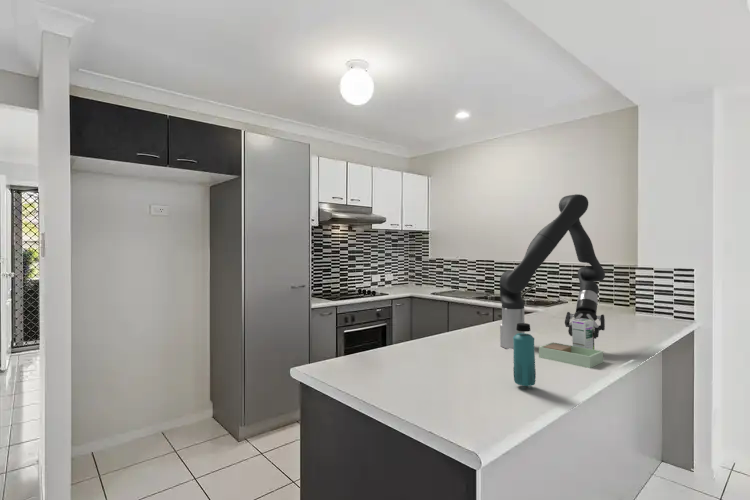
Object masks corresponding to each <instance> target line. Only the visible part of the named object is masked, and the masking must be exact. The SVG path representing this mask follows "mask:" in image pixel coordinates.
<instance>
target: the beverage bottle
mask: <svg viewBox="0 0 750 500" xmlns="http://www.w3.org/2000/svg"><path fill="white" fill-rule="evenodd" d="M516 330H517V331H523V332H525V333H518V334H516V335H515V336H514V337H513V345H514V349H513V358H512V359H513V362H512V363H513V382H514V383H515V384H516V385H518V386H523V387H531V386H534V385H536V381H537V380H536V379H537V377H536V375H537V374H536V354H535V337H534V336H533V335H531V334H530V333H526V332H531V324H529V323H527V322H526V323H518V324H517V328H516Z"/></svg>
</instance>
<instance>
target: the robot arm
mask: <svg viewBox="0 0 750 500" xmlns="http://www.w3.org/2000/svg"><path fill="white" fill-rule="evenodd" d="M558 209H559V212H560V213H559V214H558V216H556V217H555V219H553V220H552V221H551V222H550V223H548V224H546V226H544V227H543V228H542V229H541V230H539V231H538V233H537V234H536V235H535V236H534V237H533V238H532V240H531V241H530V244H528V247H527V249H526V251H525V255H524V257H523V258H522V260H521V261H520V262H519V264H518V265H517V266H516V267H515V268H514V269H513V270H506V271H504V272H503V273H502V274H501V275H500V278H499V296H500V303H501V317H502V318H501V324H500V325H499V329H500V330H499V332H500V334H499V336H500V337H499V341H500V344H499V345H500V347H502V348H504V349H507V350H508V349H511V350H512V349H513V350H514V345H513V337H514V336H515V335H516V334H518V333H526V332H523V331H517V330H516V328H517V324H518V323H525V322H526V321H525V302H524V299H523V298H522V291H524V290H525V288H526V287H527V286H528V285H529V283H530V281H531V279H532V278H533V277H534V276H533V275H534V274H535V273H536V272H537V270H538V269H539V268H540V266H542V264H543V263H544V262H545V261H546V259H548V257H549V256H550V254H552V252H553V251H554V250H555V248H556V247H557V246H558V244H559V243H560V242H561V241H562V239H563V238H564V237H565V236H566V234H567V232H569V235H570V237H571V239H572V243H573V246H574V249H575V254H576V257H577V261H578V262H579V263H585V264H589V265H590V266H582V267H580V268H579V269H578V270H577V278H578V280H579V293H578V296H577V302H576V306H575V307H576V308H575V312H574V313H571V311H567V312H566V315H565V318H564V324H565V327H566V328H568V335H569V336H570V337H572V321H571V320H576V319H581V318H582V319H590V320H593V321H594V340H595V339H597V338H599V334H600V331H605V327H606V326H605V325H606V320H605V319H606V317H605V315H604V314H601V315H597V311H598V310H597V309H598V304H599V303H598V300H599V299H598V296H599V285H598V284H597V283H596V282H602V281H603V280H604V279H605V278H606V272H605V269H604V267H603V266H602V265H601V263H600V262H599V259H598V257H597V256H596V253H595V250H594V246H593V243H592V240H591V238H590V236H589V234H588V233H587V232H586V230H585V228H584V227H583V225H582V223H581V220H580V218H582V216H583V215H584V214H585V213H586V212H587V210H588V209H589V200H588V198H587V197H586V196H585V195H583V194H580V193H579V194H577V193H576V194H570V195H565V196H563V197H561V199H560V200H559V202H558ZM597 320H598V321H599V322H600V325H599V324H597V322H596V321H597ZM570 321H571V322H570Z"/></svg>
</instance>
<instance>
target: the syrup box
mask: <svg viewBox="0 0 750 500" xmlns="http://www.w3.org/2000/svg"><path fill="white" fill-rule="evenodd" d="M571 322H572V336H571V337H572V340H571V341H572V346H576V347H582V348H588V349H593V350H595V339H594V321H593V320H590V319H582V318H581V319H576V320H573V319H571Z"/></svg>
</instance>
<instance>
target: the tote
mask: <svg viewBox="0 0 750 500" xmlns="http://www.w3.org/2000/svg"><path fill="white" fill-rule="evenodd" d="M551 344H559V345H565V346H570V347H571V353H570V352H565V351H559V350H554V349H549V348H544V347H545V346H548V345H551ZM538 358H539V359H545V360H549V361H555V362H559V363H564V364H568V365H573V366H577V367H583V368H587V369H591V368H594V367H596V366H598V365H601V364H602V363H604V351H603V350H598V349H594V350H593V349H588V348H582V347H576V346H573V345H571V344H565V343H560V342H559V343H558V342H550V343H547V344H544V345H541V346H538Z"/></svg>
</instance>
